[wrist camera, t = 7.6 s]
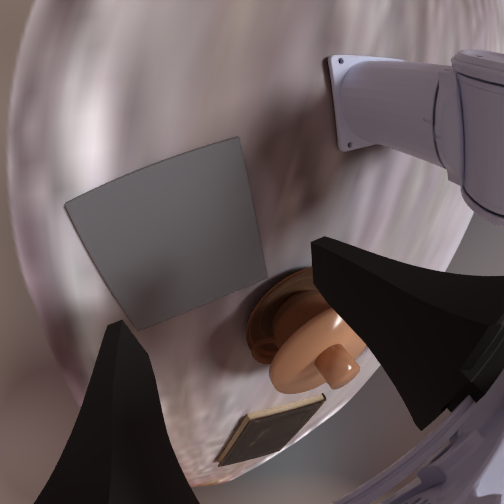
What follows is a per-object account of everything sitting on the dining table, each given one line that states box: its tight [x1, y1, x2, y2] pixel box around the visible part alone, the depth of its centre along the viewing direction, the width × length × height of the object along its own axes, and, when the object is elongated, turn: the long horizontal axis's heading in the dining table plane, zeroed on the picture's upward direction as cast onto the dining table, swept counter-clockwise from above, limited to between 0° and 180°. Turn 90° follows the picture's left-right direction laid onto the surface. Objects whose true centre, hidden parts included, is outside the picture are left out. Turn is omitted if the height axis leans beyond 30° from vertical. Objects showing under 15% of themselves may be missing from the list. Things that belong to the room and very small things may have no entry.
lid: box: [269, 308, 367, 394], centre depth 22 cm, size 11×11×4 cm
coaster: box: [65, 137, 268, 331], centre depth 19 cm, size 12×12×1 cm
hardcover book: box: [218, 393, 326, 467], centre depth 45 cm, size 16×23×2 cm
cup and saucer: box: [246, 267, 332, 364], centre depth 26 cm, size 12×12×6 cm
